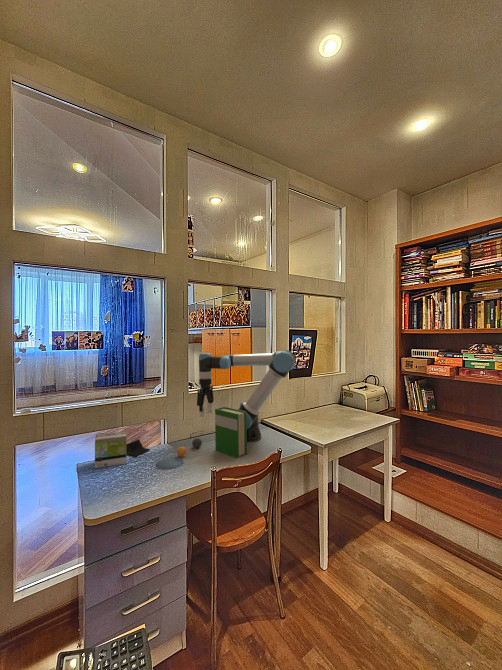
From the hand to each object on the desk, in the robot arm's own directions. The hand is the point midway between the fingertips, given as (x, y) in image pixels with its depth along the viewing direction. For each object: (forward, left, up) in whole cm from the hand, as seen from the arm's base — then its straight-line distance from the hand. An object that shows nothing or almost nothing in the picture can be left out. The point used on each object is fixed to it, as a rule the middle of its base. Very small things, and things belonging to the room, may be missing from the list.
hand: (205, 414), depth 190 cm
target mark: (0, +34, -17) cm, 38 cm away
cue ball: (0, +10, -14) cm, 17 cm away
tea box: (+29, +46, -17) cm, 57 cm away
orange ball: (0, +24, -14) cm, 28 cm away
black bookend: (+27, +30, -18) cm, 44 cm away
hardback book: (-22, +8, -17) cm, 29 cm away
